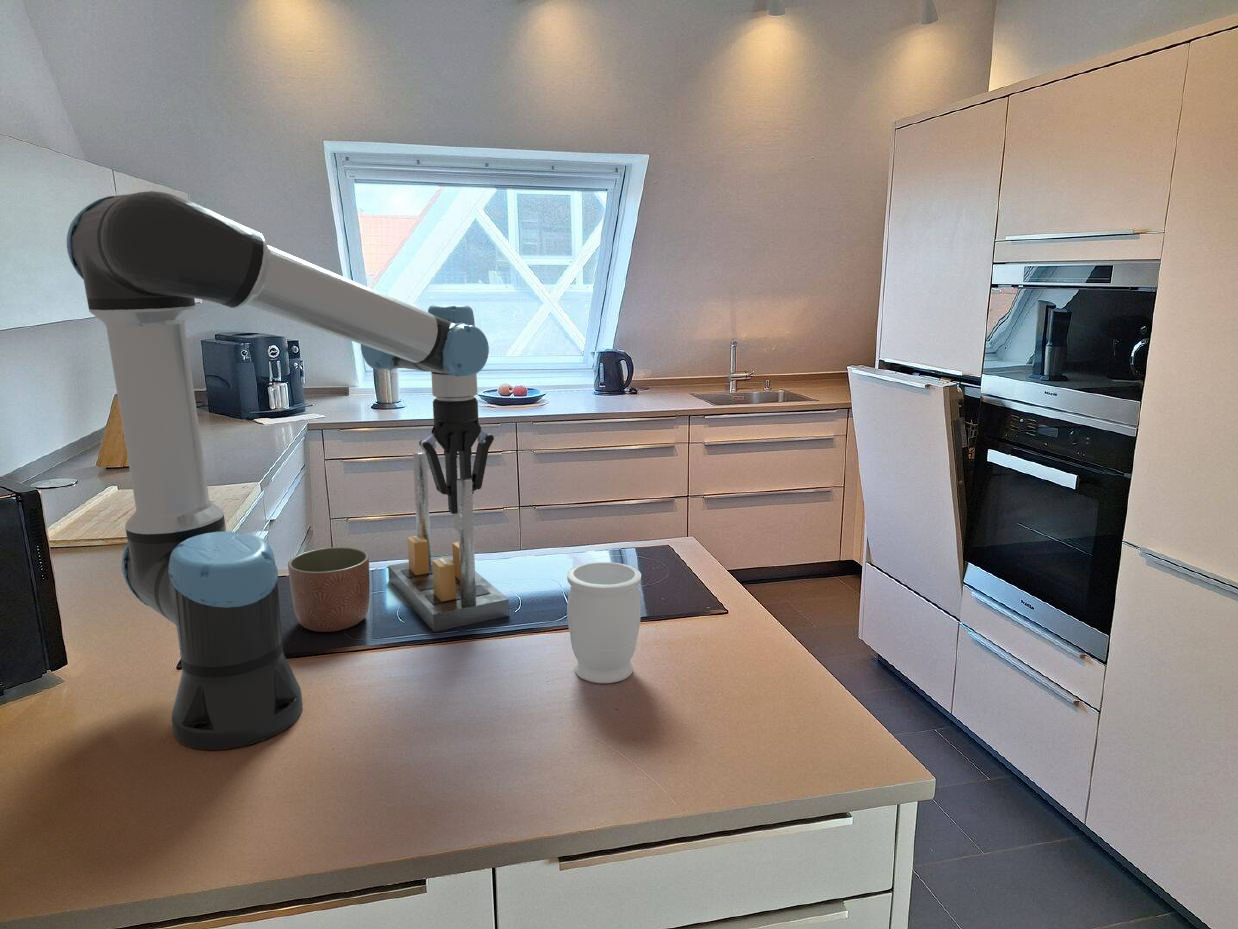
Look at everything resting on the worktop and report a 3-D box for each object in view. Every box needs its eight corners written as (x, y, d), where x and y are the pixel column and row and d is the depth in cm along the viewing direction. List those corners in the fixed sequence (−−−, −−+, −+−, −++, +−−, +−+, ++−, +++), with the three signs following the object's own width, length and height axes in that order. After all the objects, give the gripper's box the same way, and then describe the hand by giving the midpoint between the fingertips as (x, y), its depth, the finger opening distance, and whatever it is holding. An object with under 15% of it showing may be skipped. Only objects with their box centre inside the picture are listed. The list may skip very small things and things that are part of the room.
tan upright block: (474, 579, 145) (473, 546, 144) (461, 581, 144) (460, 548, 143) (466, 572, 149) (465, 539, 147) (453, 574, 147) (452, 541, 146)
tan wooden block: (429, 573, 148) (427, 540, 147) (415, 575, 147) (414, 542, 145) (422, 566, 151) (420, 534, 150) (409, 568, 150) (407, 536, 149)
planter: (300, 644, 126) (294, 578, 124) (287, 616, 137) (281, 554, 134) (381, 628, 133) (377, 564, 130) (362, 602, 143) (358, 542, 140)
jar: (654, 670, 119) (656, 573, 116) (605, 696, 112) (605, 593, 108) (602, 648, 126) (602, 555, 123) (552, 671, 119) (551, 573, 115)
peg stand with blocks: (509, 615, 138) (506, 477, 132) (434, 632, 131) (427, 486, 126) (455, 569, 159) (451, 448, 154) (388, 580, 153) (381, 455, 148)
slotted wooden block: (456, 598, 136) (454, 563, 135) (441, 601, 135) (440, 566, 134) (447, 591, 140) (446, 556, 138) (433, 593, 138) (432, 558, 137)
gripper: (482, 391, 145) (487, 518, 151) (410, 397, 139) (418, 530, 144) (499, 397, 139) (504, 529, 145) (424, 403, 133) (432, 542, 138)
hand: (461, 529), depth 144 cm, fingers closed
